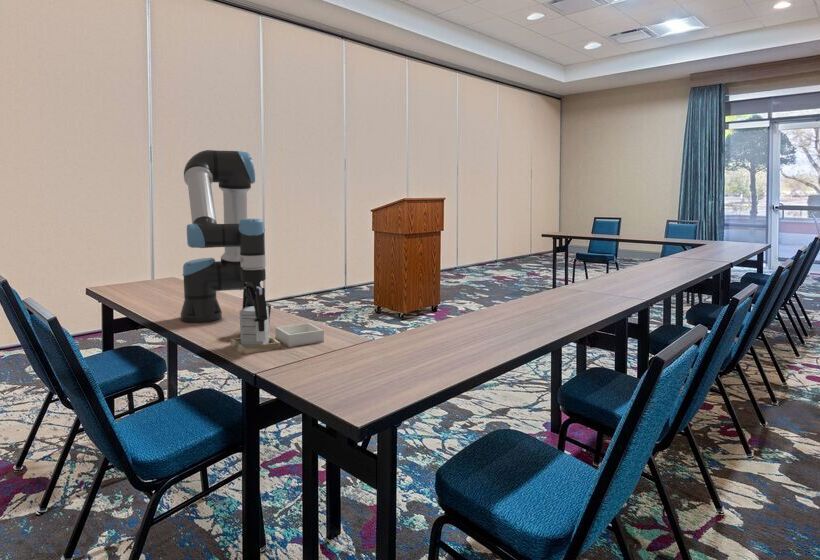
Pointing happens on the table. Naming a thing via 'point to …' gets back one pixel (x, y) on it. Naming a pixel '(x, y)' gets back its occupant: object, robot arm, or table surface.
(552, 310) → the table surface
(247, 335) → the supplement box
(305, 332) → the bin
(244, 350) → the corral
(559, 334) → the table surface
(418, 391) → the table surface
